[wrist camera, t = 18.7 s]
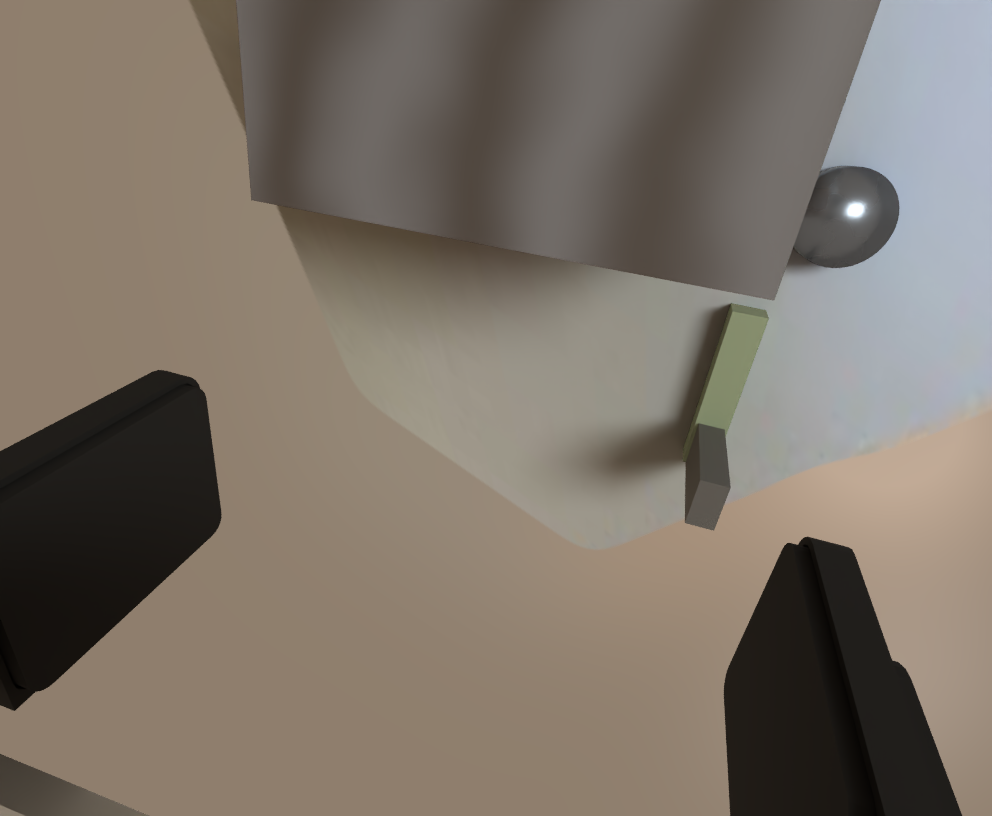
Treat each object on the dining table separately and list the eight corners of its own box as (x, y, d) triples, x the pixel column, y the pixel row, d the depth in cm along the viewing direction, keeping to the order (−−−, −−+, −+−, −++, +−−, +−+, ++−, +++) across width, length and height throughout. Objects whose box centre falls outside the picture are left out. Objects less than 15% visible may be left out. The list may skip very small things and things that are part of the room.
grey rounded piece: (909, 209, 32) (922, 212, 31) (829, 281, 34) (837, 287, 33) (841, 144, 32) (851, 144, 30) (764, 221, 34) (769, 224, 32)
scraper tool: (765, 309, 36) (784, 363, 29) (712, 456, 41) (717, 531, 34) (731, 302, 36) (740, 353, 29) (682, 449, 42) (681, 521, 35)
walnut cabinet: (805, 19, 29) (894, -37, 17) (741, 224, 34) (772, 305, 21) (409, -24, 33) (228, -98, 20) (401, 166, 38) (251, 205, 25)
